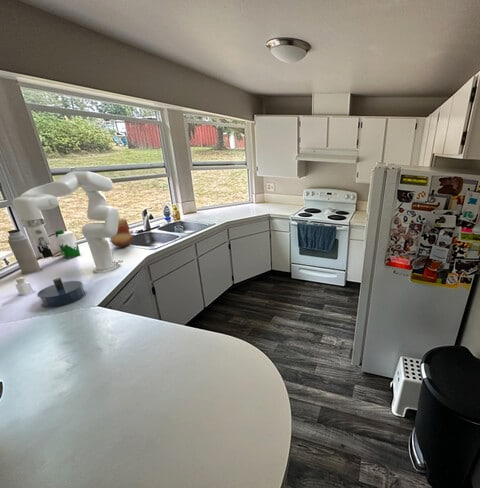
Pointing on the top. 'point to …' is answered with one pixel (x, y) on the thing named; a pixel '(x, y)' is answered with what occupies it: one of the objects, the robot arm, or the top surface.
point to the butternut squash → (122, 234)
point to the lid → (59, 288)
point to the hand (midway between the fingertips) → (46, 254)
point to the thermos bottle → (23, 252)
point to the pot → (64, 298)
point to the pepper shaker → (23, 286)
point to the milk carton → (67, 243)
